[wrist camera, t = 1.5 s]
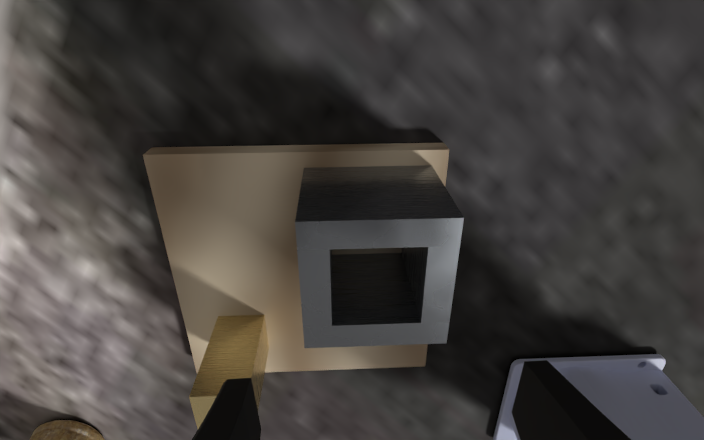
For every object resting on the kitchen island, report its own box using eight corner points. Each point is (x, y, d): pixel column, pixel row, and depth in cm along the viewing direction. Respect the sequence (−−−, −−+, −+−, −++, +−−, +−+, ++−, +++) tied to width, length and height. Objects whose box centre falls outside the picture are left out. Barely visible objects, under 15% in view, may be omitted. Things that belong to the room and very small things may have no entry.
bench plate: (443, 142, 19) (449, 149, 18) (421, 353, 25) (425, 366, 24) (151, 147, 18) (142, 154, 17) (202, 361, 24) (197, 374, 24)
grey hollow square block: (431, 165, 18) (464, 217, 14) (422, 270, 21) (446, 343, 16) (303, 167, 18) (294, 221, 14) (310, 273, 21) (304, 348, 16)
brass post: (267, 302, 23) (247, 394, 17) (271, 335, 24) (254, 432, 18) (222, 303, 23) (188, 397, 17) (228, 337, 24) (199, 434, 18)
